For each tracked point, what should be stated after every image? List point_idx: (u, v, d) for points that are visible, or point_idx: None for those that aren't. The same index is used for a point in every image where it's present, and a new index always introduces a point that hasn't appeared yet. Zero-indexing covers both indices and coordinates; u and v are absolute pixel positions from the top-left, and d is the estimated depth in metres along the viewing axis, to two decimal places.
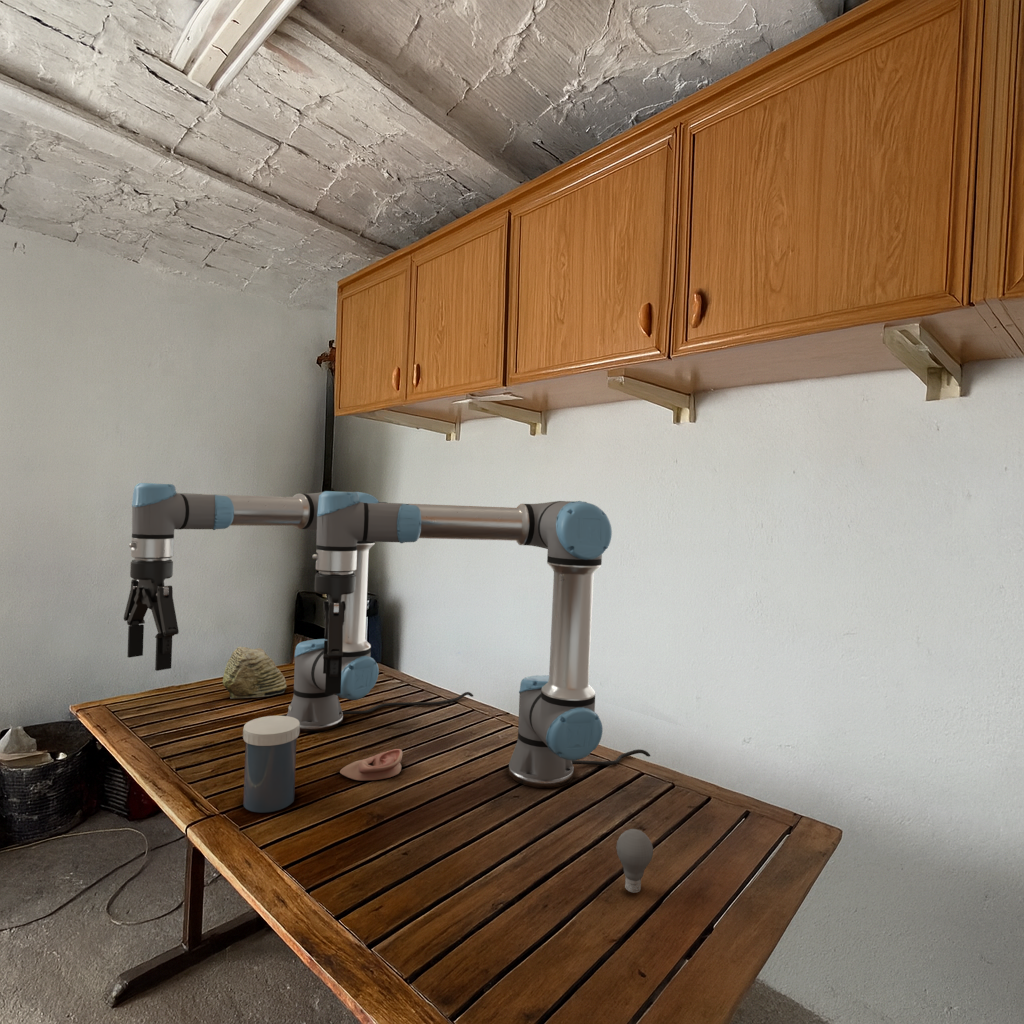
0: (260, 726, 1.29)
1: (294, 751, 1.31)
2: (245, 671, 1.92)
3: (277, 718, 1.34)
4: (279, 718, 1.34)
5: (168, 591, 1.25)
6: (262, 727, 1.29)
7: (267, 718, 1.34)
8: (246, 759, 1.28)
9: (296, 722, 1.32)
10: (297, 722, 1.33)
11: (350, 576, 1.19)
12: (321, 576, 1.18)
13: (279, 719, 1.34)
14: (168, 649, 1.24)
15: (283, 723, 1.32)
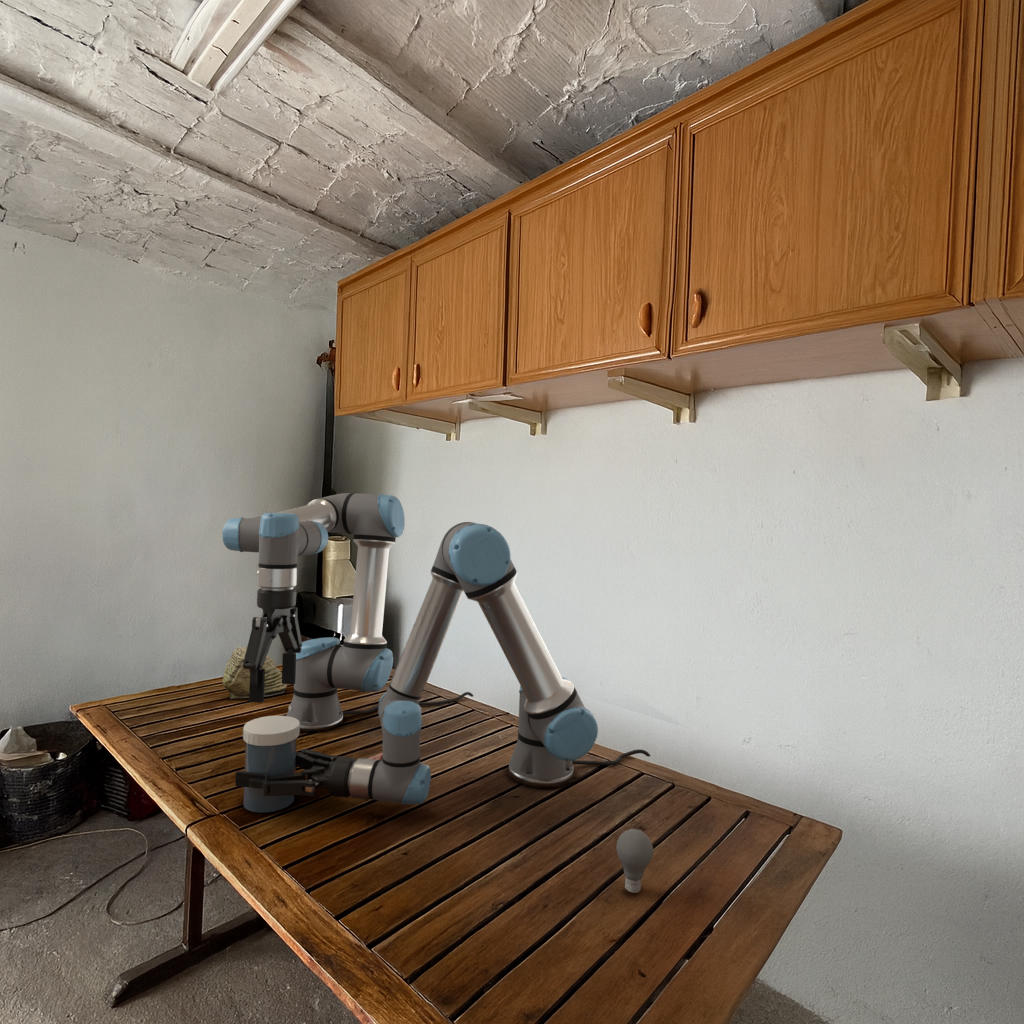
0: (260, 726, 1.29)
1: (294, 751, 1.31)
2: (245, 671, 1.92)
3: (277, 718, 1.34)
4: (279, 718, 1.34)
5: (260, 623, 1.23)
6: (262, 727, 1.29)
7: (267, 718, 1.34)
8: (246, 759, 1.28)
9: (296, 722, 1.32)
10: (297, 722, 1.33)
11: (356, 759, 1.31)
12: None
13: (279, 719, 1.34)
14: (254, 682, 1.23)
15: (283, 723, 1.32)
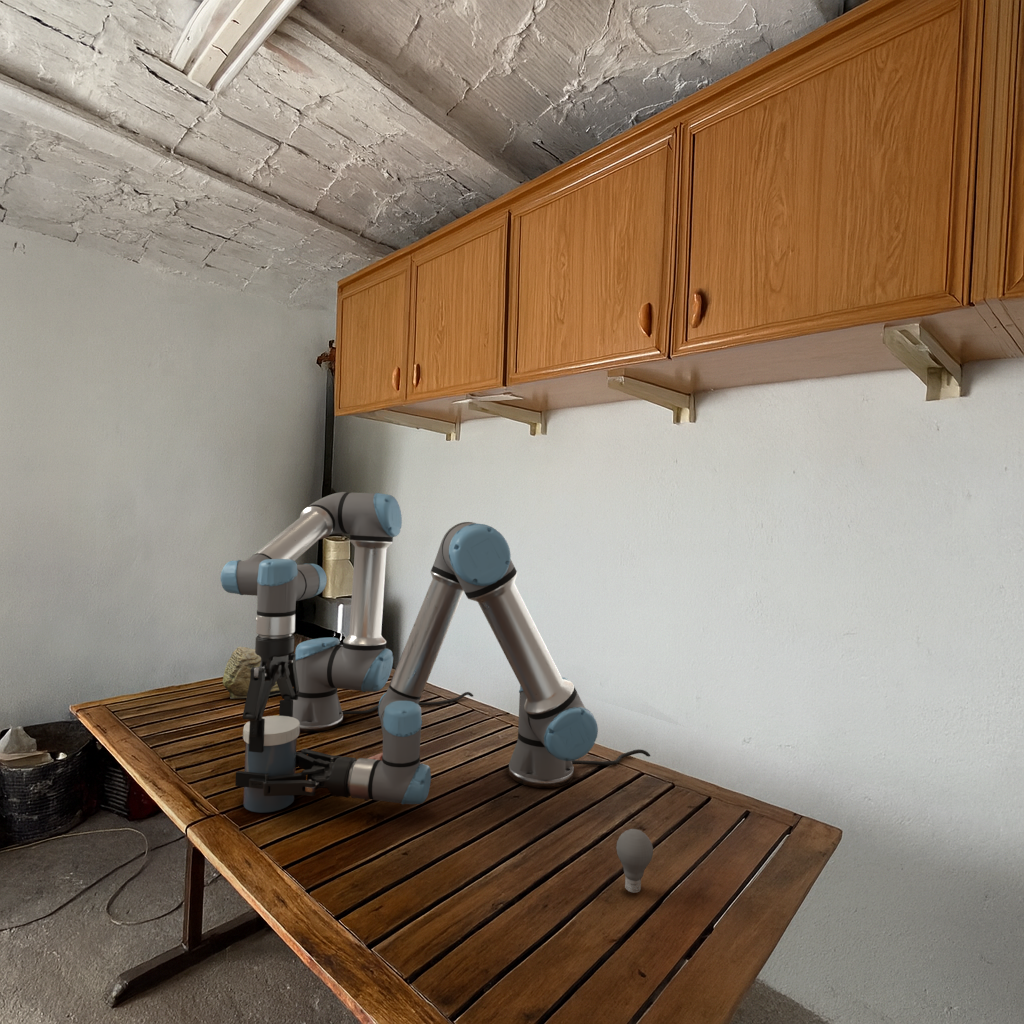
0: None
1: (294, 751, 1.31)
2: (245, 671, 1.92)
3: (277, 718, 1.34)
4: (279, 718, 1.34)
5: (258, 674, 1.24)
6: None
7: (267, 718, 1.34)
8: (246, 759, 1.28)
9: (296, 722, 1.32)
10: (297, 722, 1.33)
11: None
12: None
13: (279, 719, 1.34)
14: (253, 733, 1.24)
15: (283, 723, 1.32)
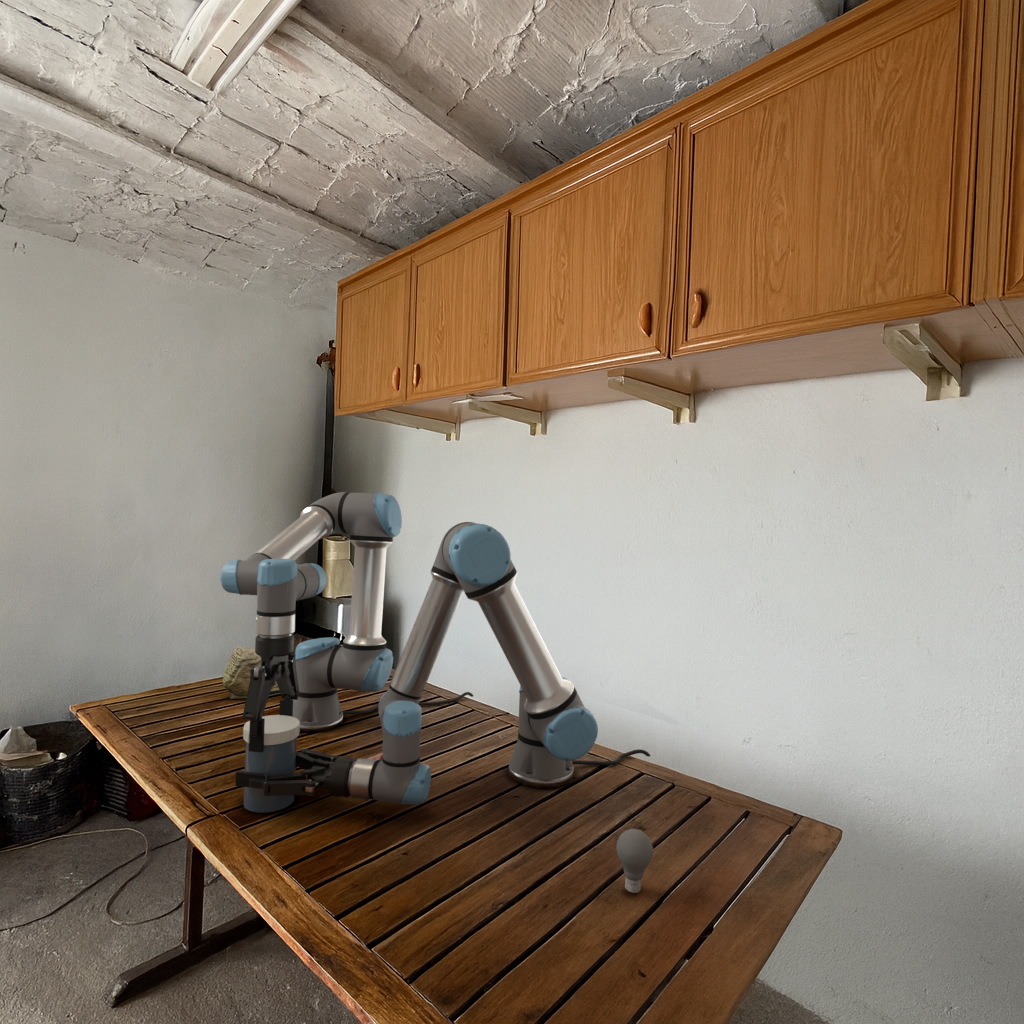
0: (273, 727, 1.29)
1: (294, 751, 1.31)
2: (245, 671, 1.92)
3: None
4: None
5: (258, 674, 1.24)
6: (276, 726, 1.29)
7: None
8: (246, 759, 1.28)
9: (274, 716, 1.35)
10: (275, 715, 1.36)
11: None
12: None
13: None
14: (253, 733, 1.24)
15: (273, 720, 1.33)
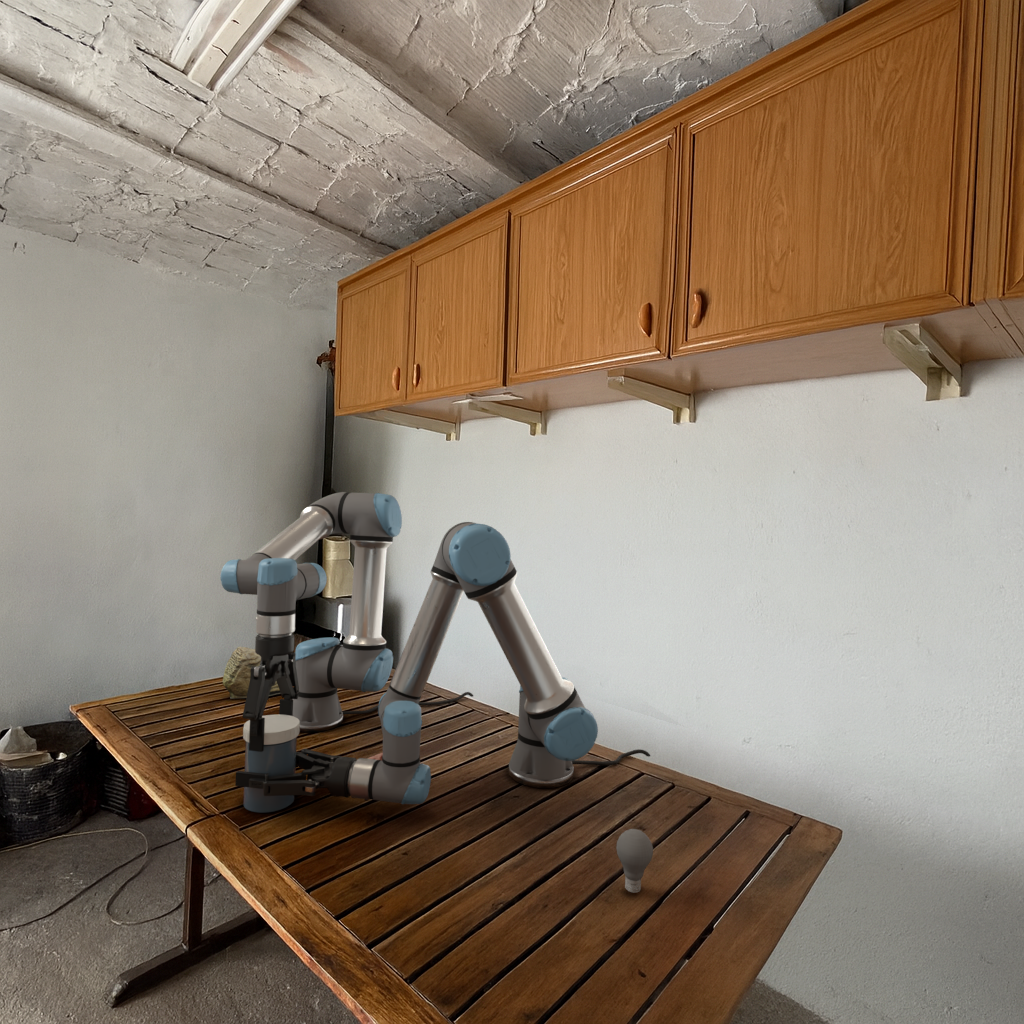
0: (283, 722, 1.32)
1: (294, 751, 1.31)
2: (245, 671, 1.92)
3: None
4: None
5: (258, 673, 1.24)
6: (282, 721, 1.32)
7: (271, 730, 1.27)
8: (246, 759, 1.28)
9: (247, 723, 1.30)
10: (247, 723, 1.30)
11: None
12: None
13: None
14: (253, 732, 1.24)
15: None
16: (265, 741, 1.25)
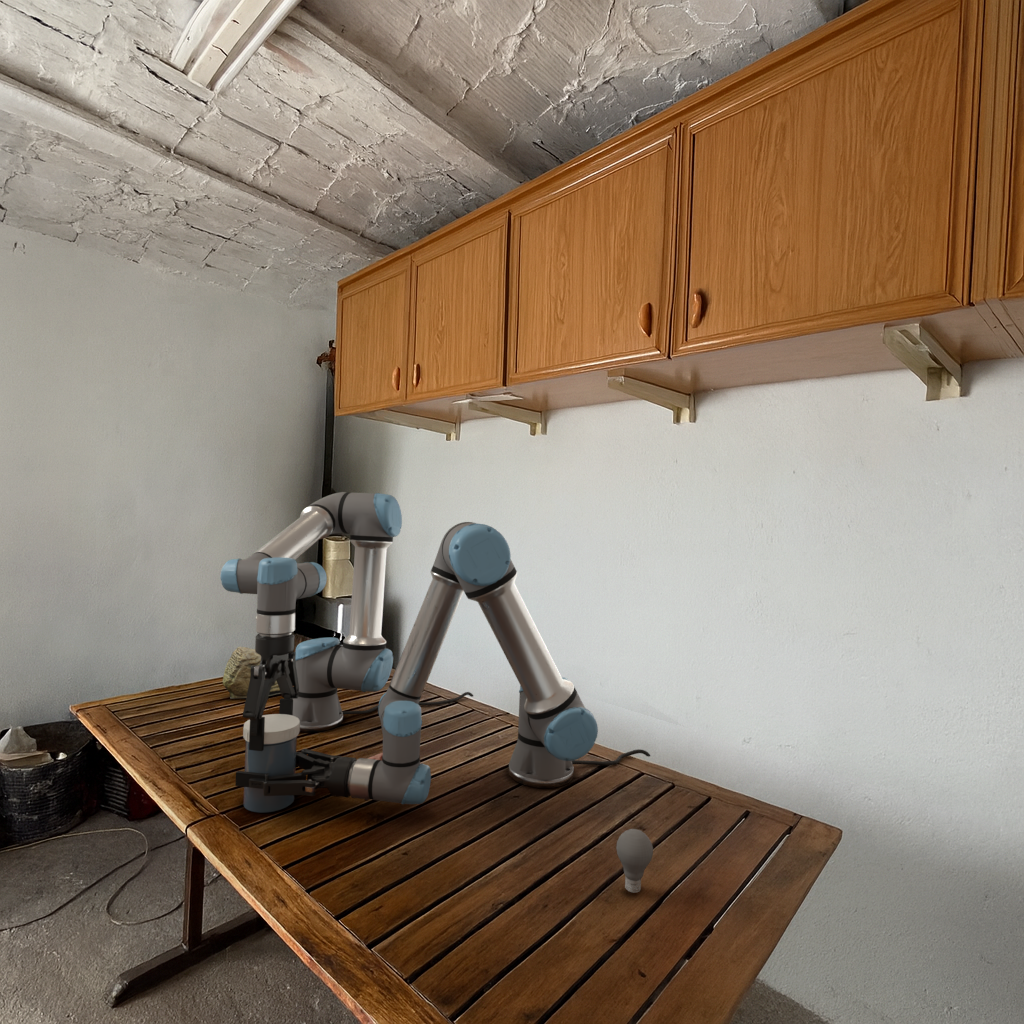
0: (273, 718, 1.33)
1: (294, 751, 1.31)
2: (245, 671, 1.92)
3: (286, 725, 1.30)
4: (285, 726, 1.29)
5: (258, 672, 1.24)
6: (270, 719, 1.33)
7: (292, 722, 1.31)
8: (246, 759, 1.28)
9: None
10: None
11: None
12: None
13: (282, 726, 1.29)
14: (253, 731, 1.24)
15: (268, 726, 1.28)
16: (298, 731, 1.31)
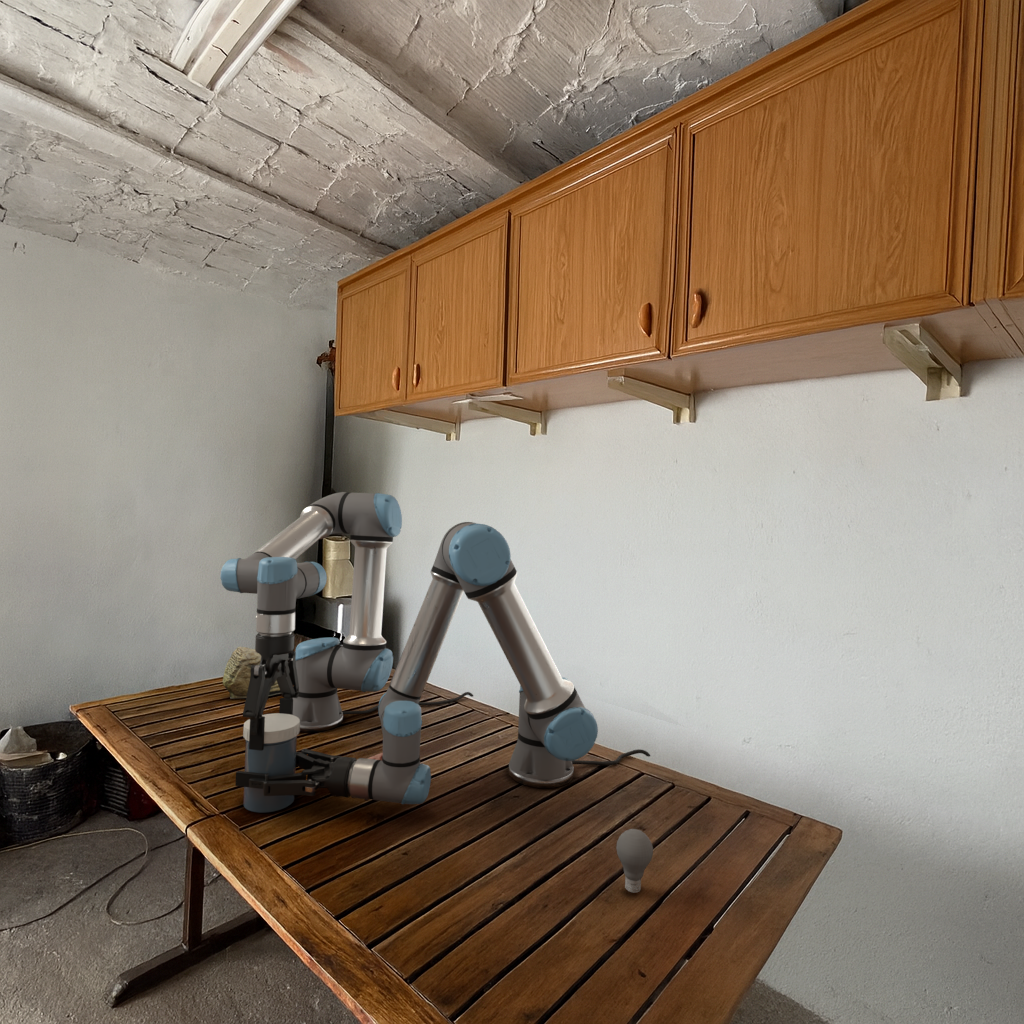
0: None
1: (294, 751, 1.31)
2: (245, 671, 1.92)
3: (285, 717, 1.34)
4: (287, 717, 1.34)
5: (258, 672, 1.24)
6: None
7: (278, 715, 1.35)
8: (246, 759, 1.28)
9: (293, 724, 1.30)
10: (294, 724, 1.30)
11: None
12: None
13: (285, 718, 1.33)
14: (254, 731, 1.24)
15: (282, 723, 1.30)
16: None
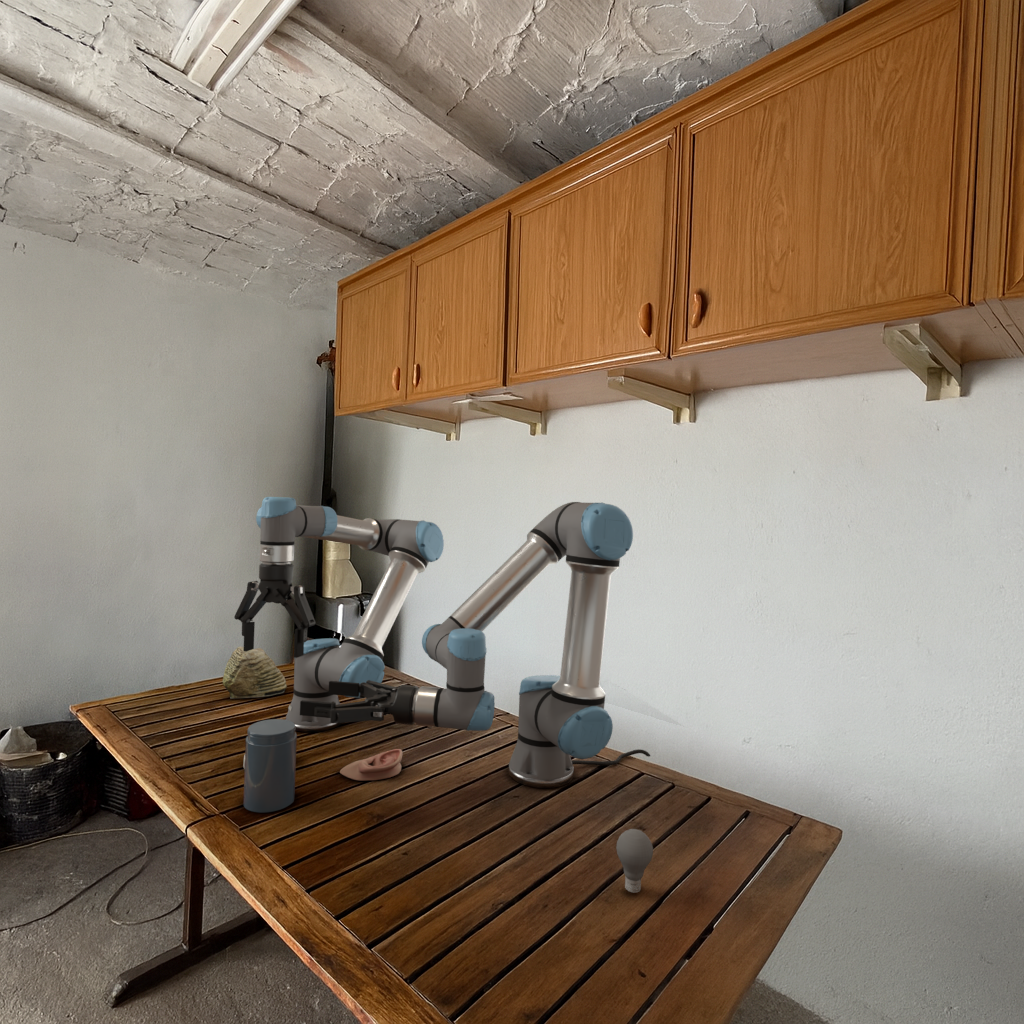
0: None
1: (294, 751, 1.31)
2: (245, 671, 1.92)
3: None
4: None
5: (302, 589, 1.47)
6: None
7: None
8: (246, 759, 1.28)
9: None
10: None
11: None
12: None
13: None
14: (305, 638, 1.46)
15: None
16: None
